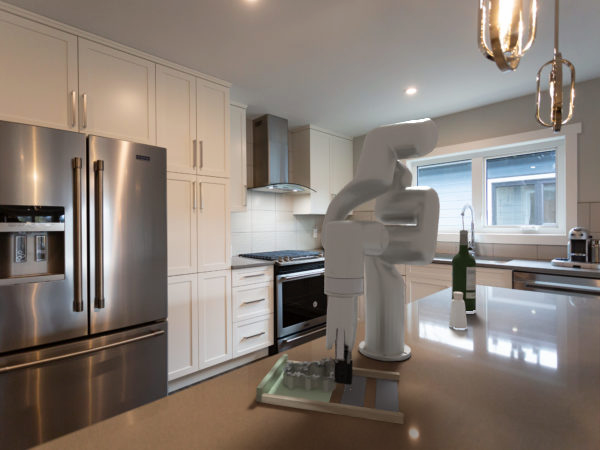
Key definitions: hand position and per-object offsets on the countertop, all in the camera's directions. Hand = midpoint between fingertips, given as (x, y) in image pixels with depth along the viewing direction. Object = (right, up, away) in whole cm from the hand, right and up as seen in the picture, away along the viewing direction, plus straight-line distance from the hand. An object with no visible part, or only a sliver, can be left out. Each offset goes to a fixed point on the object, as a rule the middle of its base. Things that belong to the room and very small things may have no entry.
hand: (343, 381), depth 62 cm
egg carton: (-6, -2, +3) cm, 7 cm away
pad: (-8, -2, +2) cm, 8 cm away
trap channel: (-2, -2, +1) cm, 3 cm away
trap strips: (+5, -2, -1) cm, 5 cm away
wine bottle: (+52, -2, +58) cm, 78 cm away
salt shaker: (+41, -2, +39) cm, 56 cm away
